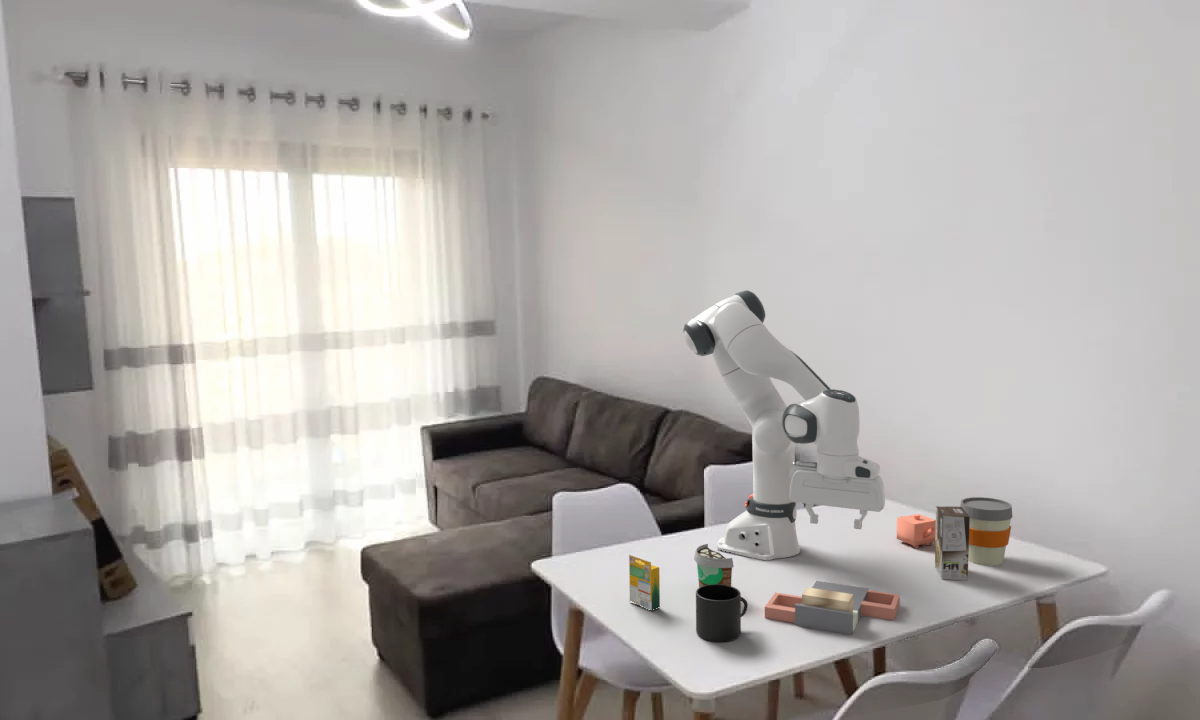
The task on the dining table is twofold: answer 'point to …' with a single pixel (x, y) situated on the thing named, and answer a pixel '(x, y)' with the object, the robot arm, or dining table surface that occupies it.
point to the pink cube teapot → (916, 529)
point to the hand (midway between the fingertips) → (835, 525)
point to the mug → (719, 612)
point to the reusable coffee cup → (987, 529)
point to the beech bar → (828, 599)
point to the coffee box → (952, 542)
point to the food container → (712, 567)
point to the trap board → (833, 619)
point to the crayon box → (644, 583)
